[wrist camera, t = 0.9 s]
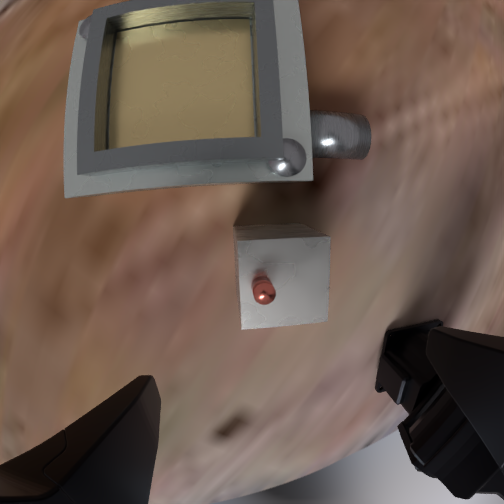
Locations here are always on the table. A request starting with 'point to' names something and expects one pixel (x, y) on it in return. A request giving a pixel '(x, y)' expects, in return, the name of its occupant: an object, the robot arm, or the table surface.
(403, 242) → the table surface
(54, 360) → the table surface
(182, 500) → the table surface
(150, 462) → the robot arm
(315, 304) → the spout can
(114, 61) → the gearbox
